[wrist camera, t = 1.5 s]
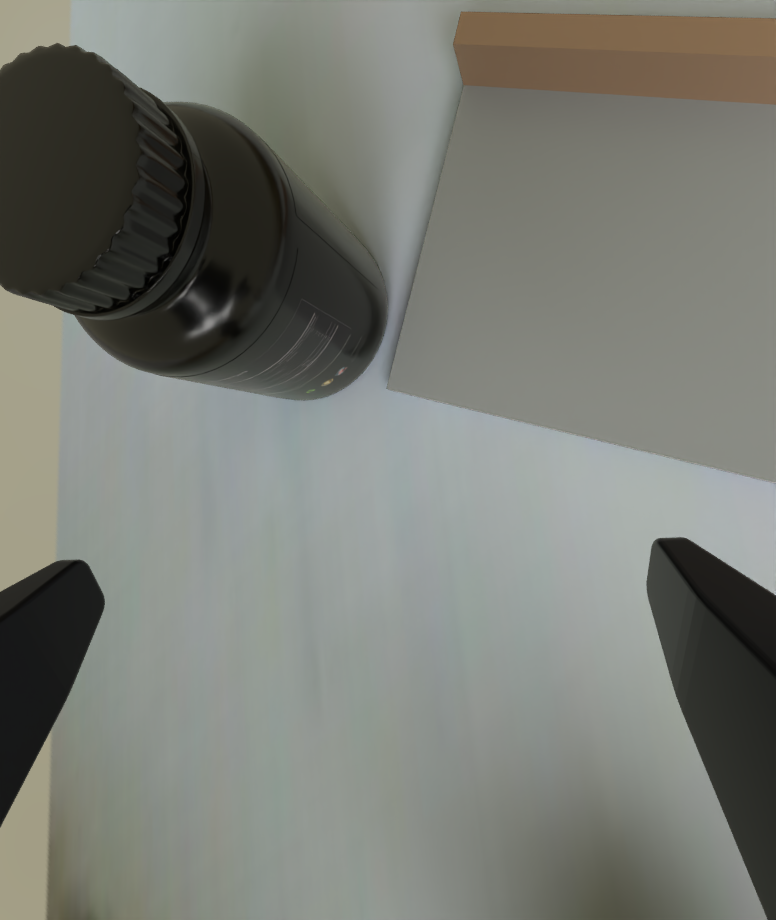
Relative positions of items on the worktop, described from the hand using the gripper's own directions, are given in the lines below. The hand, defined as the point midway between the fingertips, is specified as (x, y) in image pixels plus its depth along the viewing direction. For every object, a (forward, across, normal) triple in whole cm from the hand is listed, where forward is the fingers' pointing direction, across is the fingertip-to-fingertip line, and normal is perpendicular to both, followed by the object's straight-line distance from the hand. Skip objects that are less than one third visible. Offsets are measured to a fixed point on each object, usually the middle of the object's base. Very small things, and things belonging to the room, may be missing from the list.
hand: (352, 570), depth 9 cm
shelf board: (+13, -8, -1) cm, 15 cm away
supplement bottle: (+15, +4, 0) cm, 15 cm away
